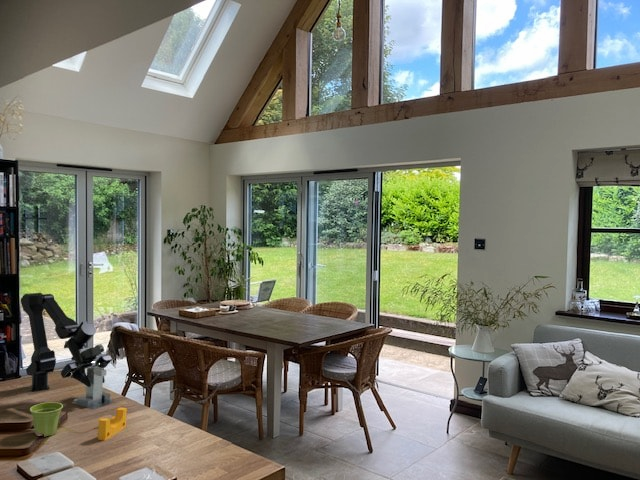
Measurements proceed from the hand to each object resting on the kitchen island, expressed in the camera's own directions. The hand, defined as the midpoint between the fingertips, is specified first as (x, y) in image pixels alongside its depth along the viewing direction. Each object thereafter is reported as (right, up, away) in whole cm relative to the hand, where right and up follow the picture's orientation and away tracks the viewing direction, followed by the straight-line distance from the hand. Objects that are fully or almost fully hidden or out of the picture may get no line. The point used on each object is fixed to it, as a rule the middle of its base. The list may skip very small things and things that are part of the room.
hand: (96, 384), depth 190 cm
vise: (-2, -8, +1) cm, 8 cm away
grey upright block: (0, -7, 0) cm, 7 cm away
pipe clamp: (+15, -10, -23) cm, 29 cm away
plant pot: (-5, -9, -27) cm, 28 cm away
